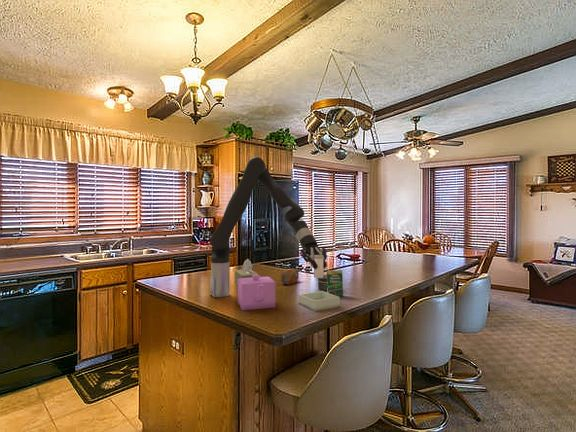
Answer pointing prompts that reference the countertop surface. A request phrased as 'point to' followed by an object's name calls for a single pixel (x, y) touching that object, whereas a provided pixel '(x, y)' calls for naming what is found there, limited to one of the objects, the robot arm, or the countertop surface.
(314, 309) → the bin
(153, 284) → the countertop surface
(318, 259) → the salt shaker
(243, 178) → the robot arm
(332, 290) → the coffee box
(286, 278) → the tin
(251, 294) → the pink storage box
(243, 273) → the tissue box
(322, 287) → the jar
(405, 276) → the countertop surface
